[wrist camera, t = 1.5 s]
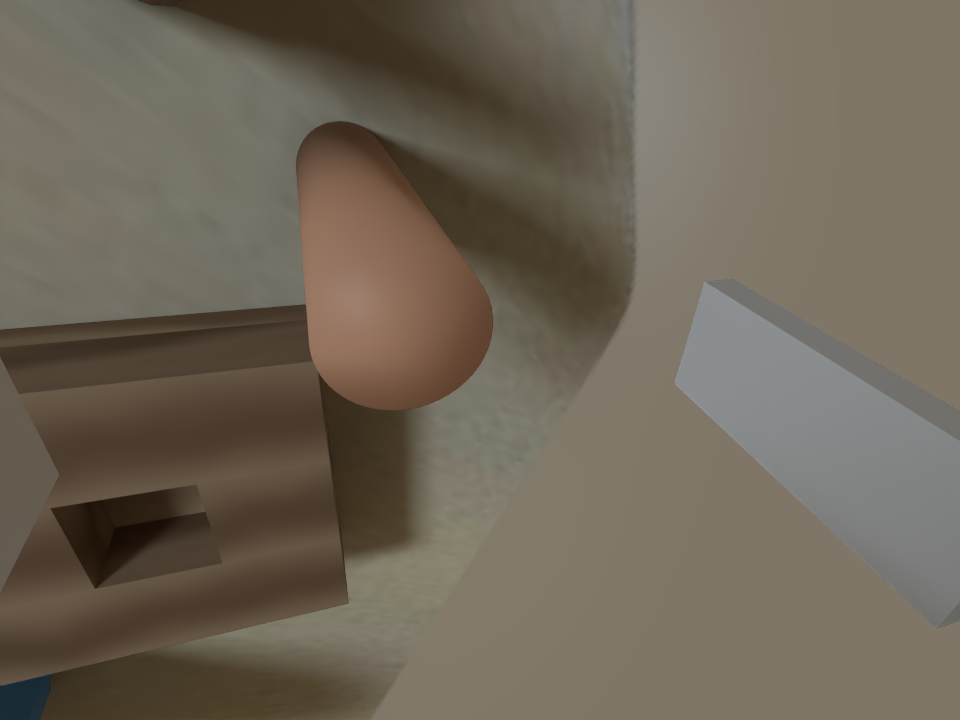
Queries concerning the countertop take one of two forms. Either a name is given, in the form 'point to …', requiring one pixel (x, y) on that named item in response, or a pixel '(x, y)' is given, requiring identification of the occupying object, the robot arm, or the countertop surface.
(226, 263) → the countertop surface
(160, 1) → the wooden block structure
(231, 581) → the socket block
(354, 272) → the pin
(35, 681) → the water bottle
